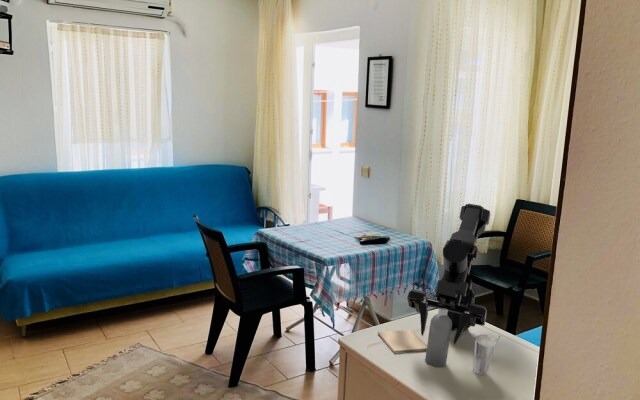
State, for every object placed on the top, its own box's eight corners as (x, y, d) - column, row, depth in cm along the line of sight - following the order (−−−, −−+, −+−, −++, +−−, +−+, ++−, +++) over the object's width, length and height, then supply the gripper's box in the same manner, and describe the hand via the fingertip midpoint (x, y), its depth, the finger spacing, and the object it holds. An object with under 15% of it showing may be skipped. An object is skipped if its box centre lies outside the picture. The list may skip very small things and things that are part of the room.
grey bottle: (439, 356, 125) (446, 304, 122) (449, 366, 121) (458, 313, 118) (421, 357, 124) (428, 305, 121) (431, 368, 119) (439, 314, 116)
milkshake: (494, 379, 117) (501, 340, 115) (470, 375, 118) (477, 335, 116) (492, 369, 121) (499, 331, 119) (469, 365, 122) (475, 327, 120)
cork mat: (411, 331, 137) (411, 329, 137) (429, 350, 128) (429, 348, 128) (377, 334, 134) (377, 332, 134) (394, 353, 125) (394, 350, 124)
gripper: (414, 258, 124) (396, 315, 117) (492, 275, 117) (478, 337, 110) (417, 279, 133) (401, 333, 126) (490, 295, 126) (478, 354, 118)
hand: (438, 339), depth 119 cm, fingers open, 7 cm apart
